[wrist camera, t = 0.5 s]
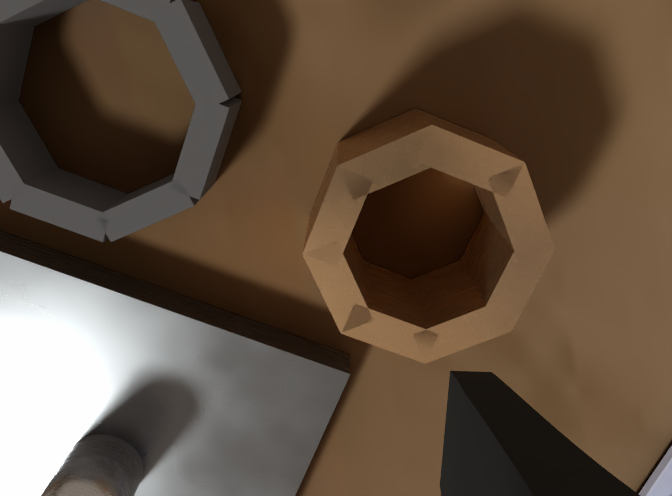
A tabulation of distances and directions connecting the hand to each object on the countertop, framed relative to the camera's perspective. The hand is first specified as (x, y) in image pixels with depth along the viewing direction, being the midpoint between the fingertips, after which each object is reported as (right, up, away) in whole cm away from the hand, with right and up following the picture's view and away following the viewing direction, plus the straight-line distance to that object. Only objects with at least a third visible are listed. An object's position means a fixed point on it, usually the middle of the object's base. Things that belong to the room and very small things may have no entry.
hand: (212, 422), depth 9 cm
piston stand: (-5, -4, +11) cm, 13 cm away
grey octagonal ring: (-4, +7, +8) cm, 11 cm away
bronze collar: (+4, +4, +9) cm, 10 cm away
